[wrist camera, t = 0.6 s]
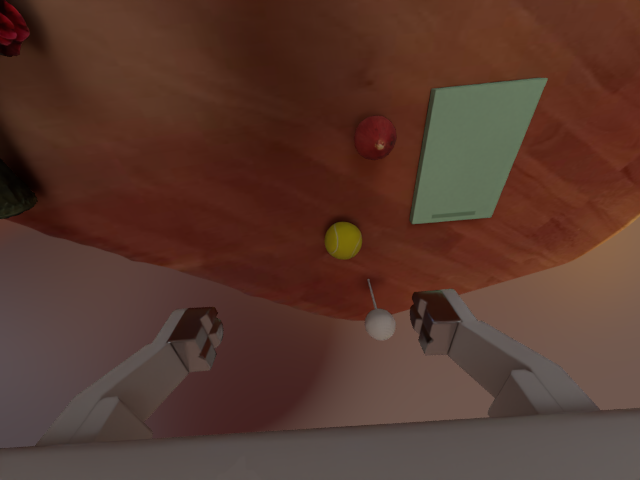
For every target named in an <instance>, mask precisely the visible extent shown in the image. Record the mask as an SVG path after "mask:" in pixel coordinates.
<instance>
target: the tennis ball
mask: <svg viewBox="0 0 640 480" xmlns="http://www.w3.org/2000/svg"><path fill="white" fill-rule="evenodd" d="M361 245H362V235H361V232H360V231H359V229H358V228H357V227H356V226H355V225H353V224H351V223H348V222H337V223H335V224H333V225H332V226H331V227H330V228H329V229H328V231H327V233H326V235H325V247H326V249H327V251H328V252H329V254H330V255H332V256H333V257H335V258H338V259H349V258H352V257H354V256H355V255H356V254H357V253H358V252H359V250H360V248H361Z"/></svg>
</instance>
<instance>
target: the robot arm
mask: <svg viewBox="0 0 640 480" xmlns="http://www.w3.org/2000/svg"><path fill="white" fill-rule="evenodd" d="M412 300H413V302H414V304H413V305H412V306H411V307H410V320H411V323H412V326H413V329H414V330H415V331H416V332H417V333H419V334H420V336H419V342H420V344H421V347H422V349H423V351H424V353H425V355H448V356H449V357H450V358H451V359H452V360H453V361H454V362H455V363H457V364H458V365H459V366H460V367H461V368H462V369H463V370H465V371H466V372H467V373H468V374H469V375H470V376H471V377H472V378H473V379H474V380H475V381H477V382H478V383H479V384H480V385H481V386H482V387H483V388H484V389H485V390H487V391H488V392H489V393H490V394H491V395H492V396H493V397H494V398H495V400H494V401H493V403H492V405H491V407H490V408H489V410H488V415H489V416H490V417H489V418H474V419H457V420H441V421H425V422H410V423H395V424H394V423H393V424H377V425H361V426H346V427H330V428H313V429H298V430H283V431H265V432H250V433H235V434H219V435H203V436H187V437H172V438H157V439H151V438H152V435H153V433H152V430H151V429H150V428H149V427H148V426H147V425H146V424H145V423H144V422H145V421H146V419H147V418H148V417H149V416H150V415H151V414H152V413H153V412H154V411H155V410H156V409H157V407H158V406H159V405H160V404H161V403H162V402H163V401H164V400H165V399H166V398H167V397H168V396H169V394H170V393H171V392H172V391H173V390H174V389H175V388H176V387H177V386H178V385H179V384H180V382H181V381H182V380H183V379H184V378H185V377H186V376H187V375H188V374H189V373H188V372H195V371H206V370H211V367H212V365H213V362H214V359H215V357H216V351H215V348H216V347H218V345H220V343H221V341H222V338H223V331H224V330H223V324H222V322H221V320H219V319H218V318H216V316H217V314H218V312H217V310H216V308H215V307H202V308H185V309H176V310H175V311H173V312H172V314H171V316H170V317H169V318H168V320H167V321H166V323H165V324H164V326H163V327H162V329H161V330H160V332H159V334H158V335H157V336H156V338H155V339H154V341H153V342H152V344H147V345H146V346H145V347H143V348H142V349H140V350H139V351H138V352H136V353H135V354H133V355H132V356H131V357H129V358H128V359H127V360H125V361H124V362H122V363H121V364H120V365H119V366H117V367H116V368H114V369H113V370H111V371H110V372H109V373H107V374H106V375H105V376H103V377H102V378H100V379H99V380H98V381H96V382H95V383H93V384H92V385H91V386H89V387H88V388H87V389H85V390H84V391H82V392H81V393H80V394H78V395H77V396H75V397H74V398H73V399H72V401H71V402H70V403H69V404H68V405H67V407H66V408H65V409H64V410H63V412H62V413H61V414H60V415H59V417H58V418H57V419H56V420H55V422H54V423H53V424H52V425H51V427H50V428H49V429H48V430H47V432H46V433H45V434H44V435H43V436H42V438H41V439H40V440H39V441H38V443H37V444H36V445H35V446H30V447H14V448H0V480H640V408H631V409H614V410H600V409H599V408H598V407H597V406H596V405H595V403H594V402H593V401H592V400H591V399H590V398H589V397H588V396H587V395H586V394H585V393H584V392H583V390H582V389H581V388H580V387H579V386H578V385H577V384H576V383H575V382H574V381H573V380H572V378H571V377H570V376H569V375H568V374H567V373H566V372H565V371H564V370H563V369H562V368H561V367H560V366H559V365H557V364H556V363H554V362H552V361H550V360H549V359H547V358H545V357H544V356H542V355H540V354H538V353H537V352H535V351H533V350H532V349H530V348H528V347H526V346H525V345H523V344H521V343H519V342H518V341H516V340H514V339H513V338H511V337H509V336H507V335H506V334H504V333H502V332H500V331H499V330H497V329H495V328H493V327H492V326H490V325H488V324H487V323H485V322H483V321H478V320H477V319H476V318H475V316H474V315H473V314H472V313H471V311H470V310H469V308H468V307H467V306H466V304H465V303H464V302H463V301H462V299H461V298H460V296H459V295H458V294H457V292H456V291H455V290H453V289H445V290H433V291H421V292H414V293H413V296H412Z"/></svg>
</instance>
